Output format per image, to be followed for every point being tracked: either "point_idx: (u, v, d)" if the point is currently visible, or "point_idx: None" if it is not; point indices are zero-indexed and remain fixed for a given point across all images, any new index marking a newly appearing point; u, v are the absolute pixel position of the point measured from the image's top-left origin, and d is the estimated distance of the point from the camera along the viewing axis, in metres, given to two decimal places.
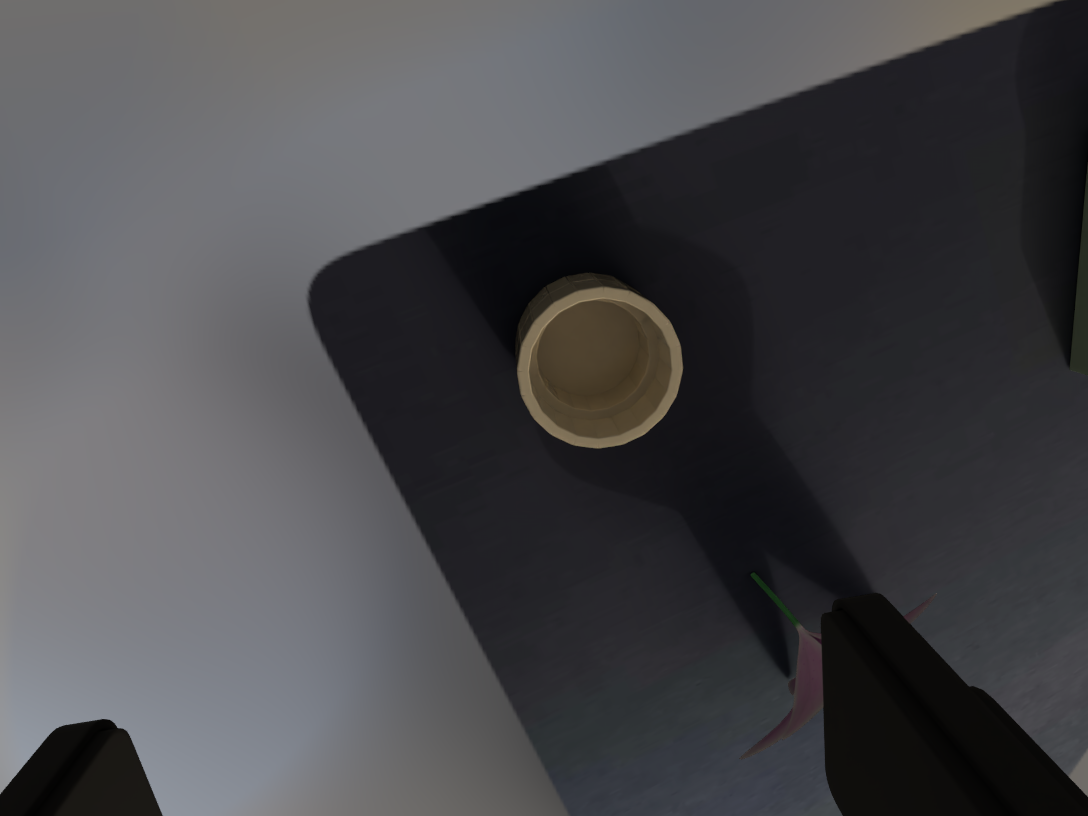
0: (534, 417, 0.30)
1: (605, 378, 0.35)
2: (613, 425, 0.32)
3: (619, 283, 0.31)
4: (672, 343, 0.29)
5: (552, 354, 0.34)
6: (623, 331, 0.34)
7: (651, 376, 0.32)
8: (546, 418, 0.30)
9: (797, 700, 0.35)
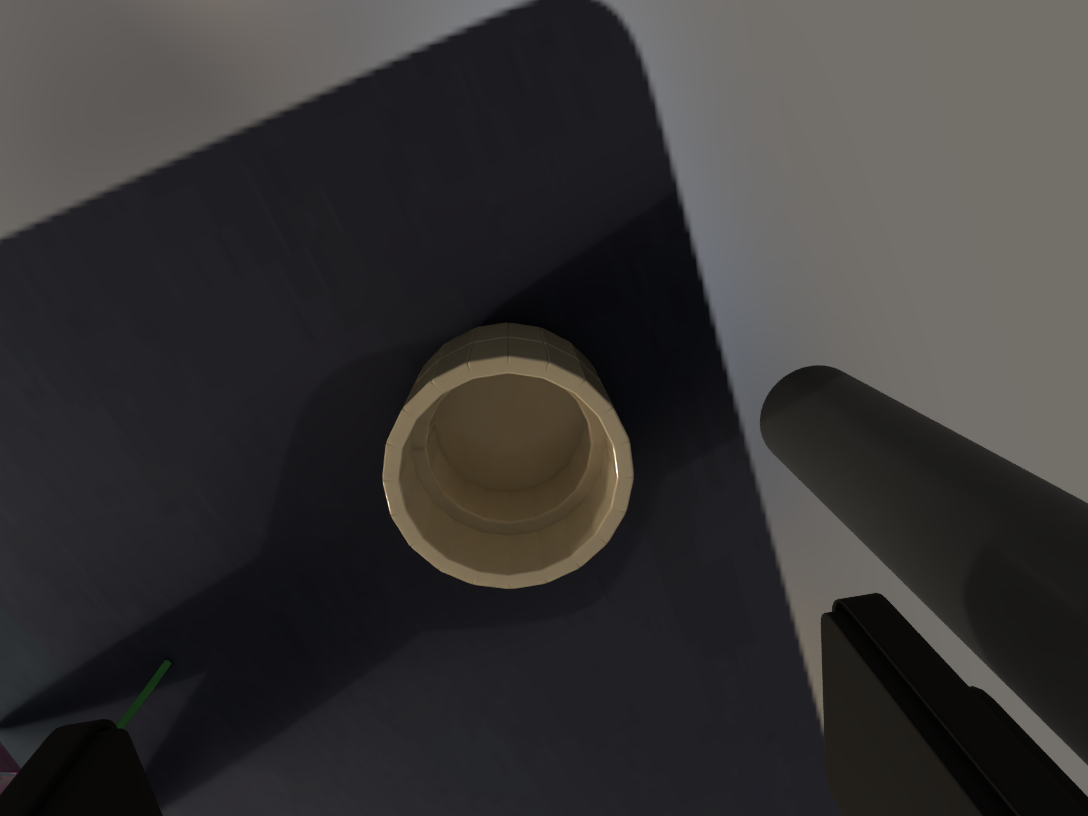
0: (431, 383, 0.19)
1: (460, 449, 0.25)
2: (412, 489, 0.21)
3: None
4: (549, 572, 0.21)
5: (495, 375, 0.24)
6: (528, 469, 0.25)
7: (480, 526, 0.23)
8: (430, 401, 0.19)
9: None
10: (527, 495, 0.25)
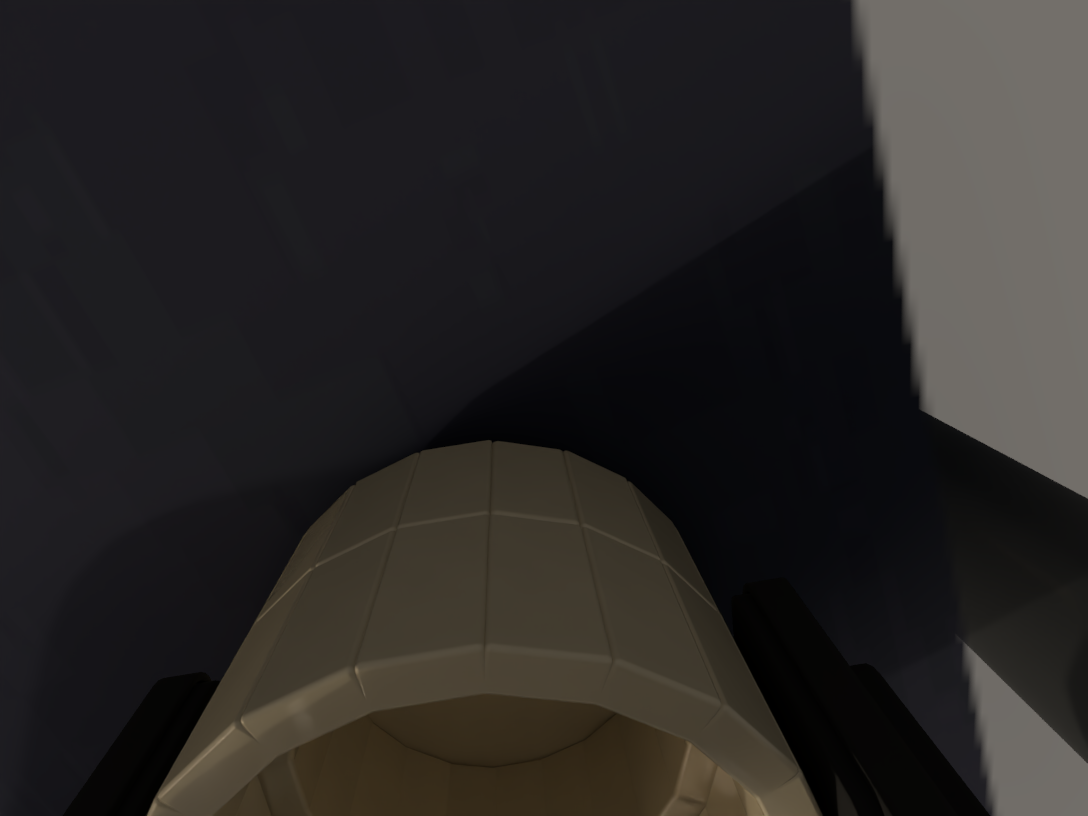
0: (239, 729, 0.06)
1: None
2: None
3: None
4: None
5: None
6: (534, 725, 0.12)
7: None
8: (241, 777, 0.06)
9: None
10: (533, 788, 0.12)
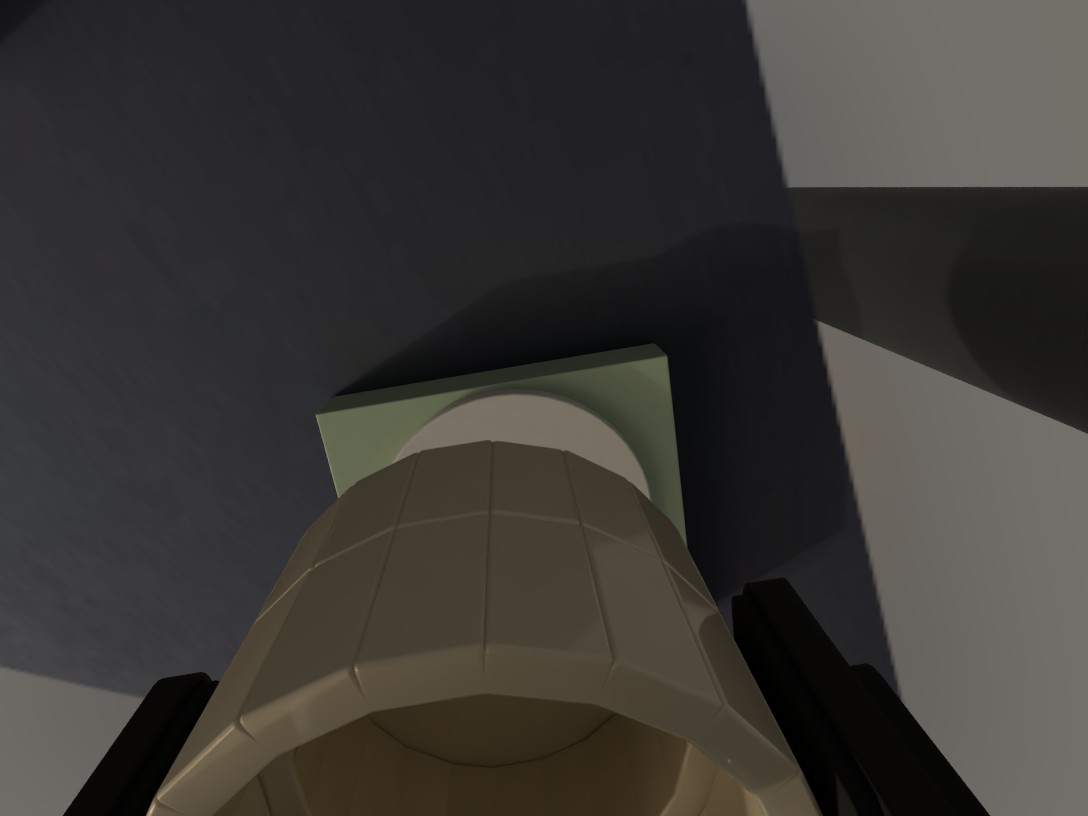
0: (238, 729, 0.06)
1: None
2: None
3: None
4: None
5: None
6: (534, 726, 0.12)
7: None
8: (240, 778, 0.06)
9: None
10: (533, 788, 0.12)
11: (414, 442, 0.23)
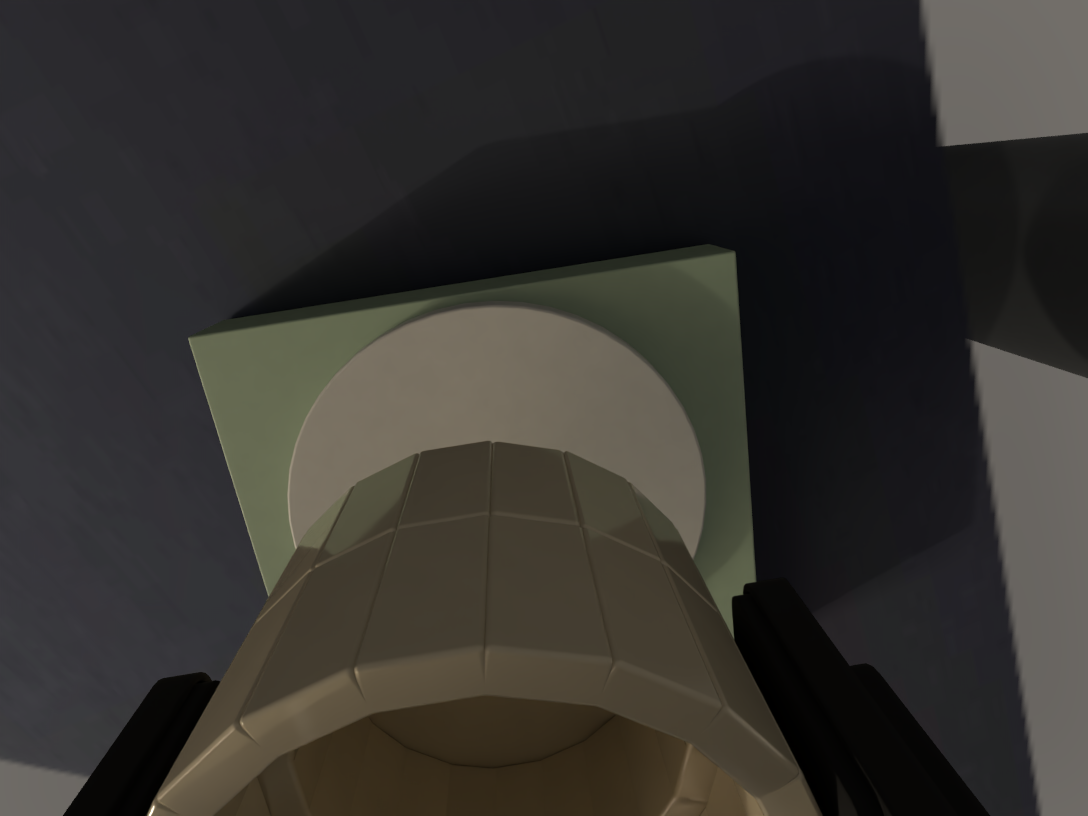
0: (238, 731, 0.06)
1: None
2: None
3: None
4: None
5: None
6: (534, 726, 0.12)
7: None
8: (240, 779, 0.06)
9: None
10: (533, 789, 0.12)
11: (339, 381, 0.15)
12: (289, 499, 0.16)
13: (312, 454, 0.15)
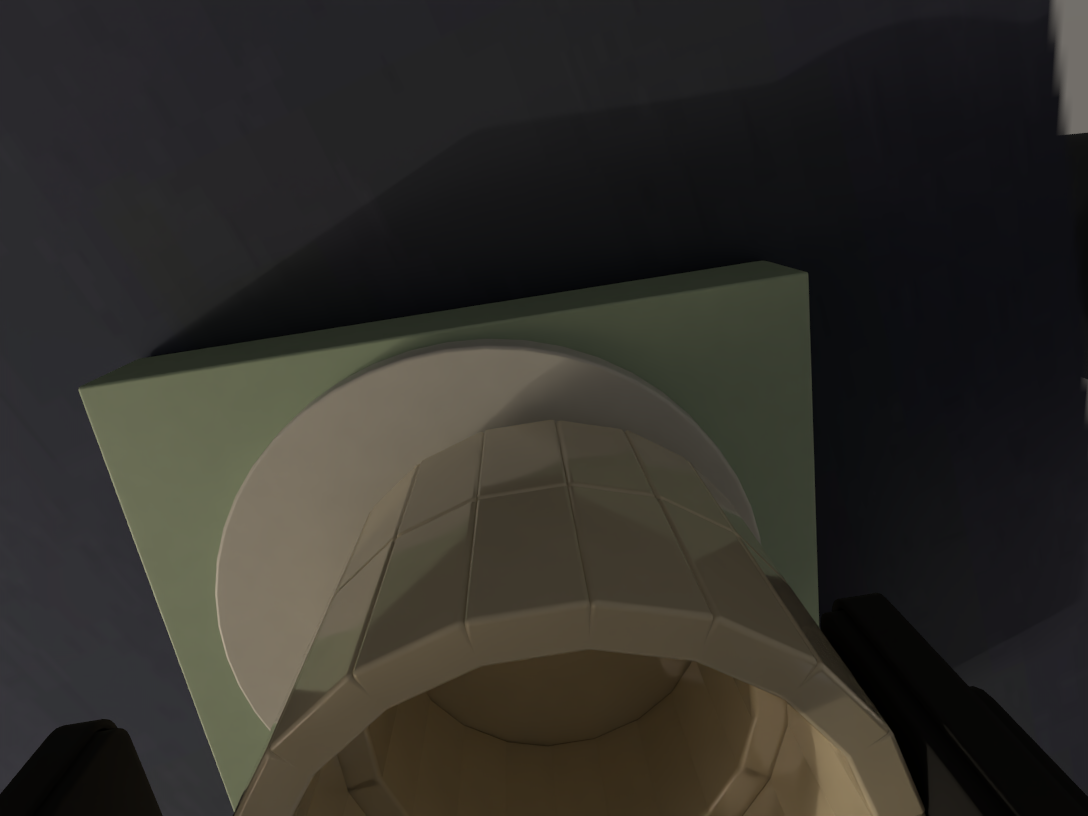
0: (351, 682, 0.06)
1: None
2: None
3: None
4: None
5: None
6: (588, 704, 0.12)
7: None
8: (350, 730, 0.06)
9: None
10: (589, 766, 0.12)
11: (280, 448, 0.11)
12: (217, 599, 0.12)
13: (245, 542, 0.12)
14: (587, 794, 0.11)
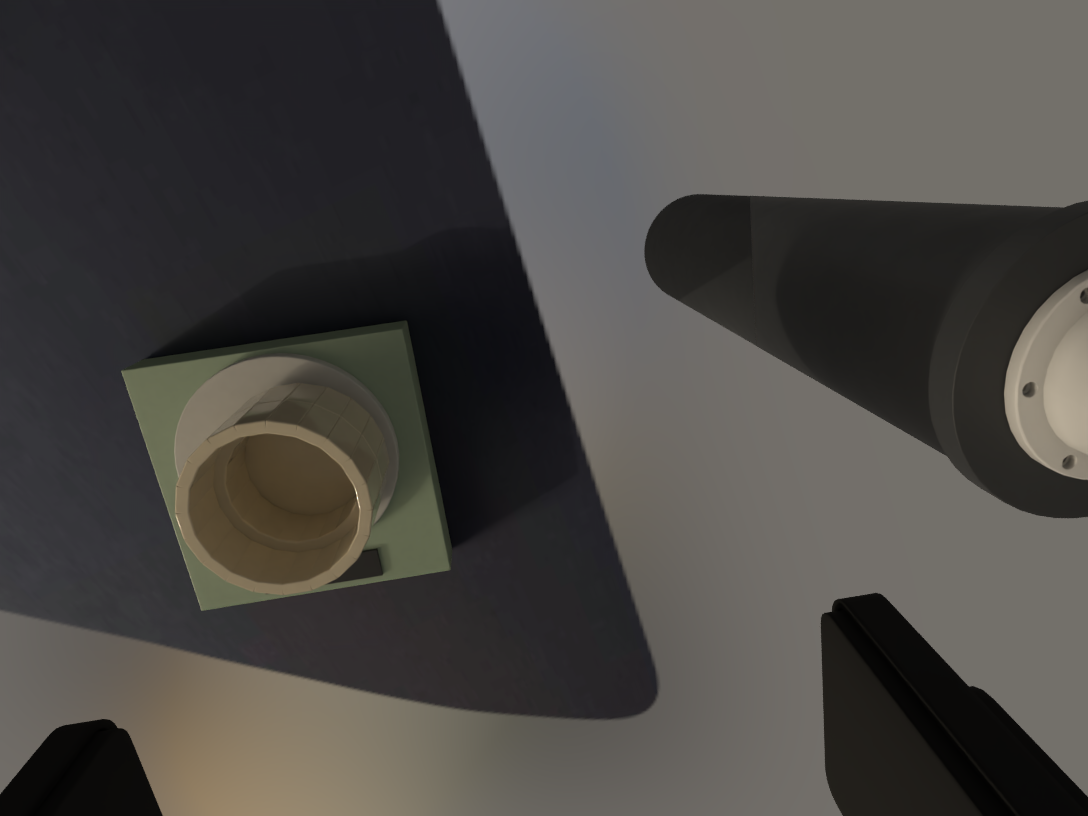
0: (207, 440, 0.25)
1: (268, 482, 0.31)
2: (208, 518, 0.27)
3: (377, 509, 0.28)
4: (313, 582, 0.27)
5: None
6: (325, 497, 0.31)
7: (274, 545, 0.29)
8: (208, 454, 0.25)
9: None
10: (322, 518, 0.31)
11: (198, 393, 0.30)
12: (175, 454, 0.30)
13: (186, 430, 0.30)
14: (317, 525, 0.30)
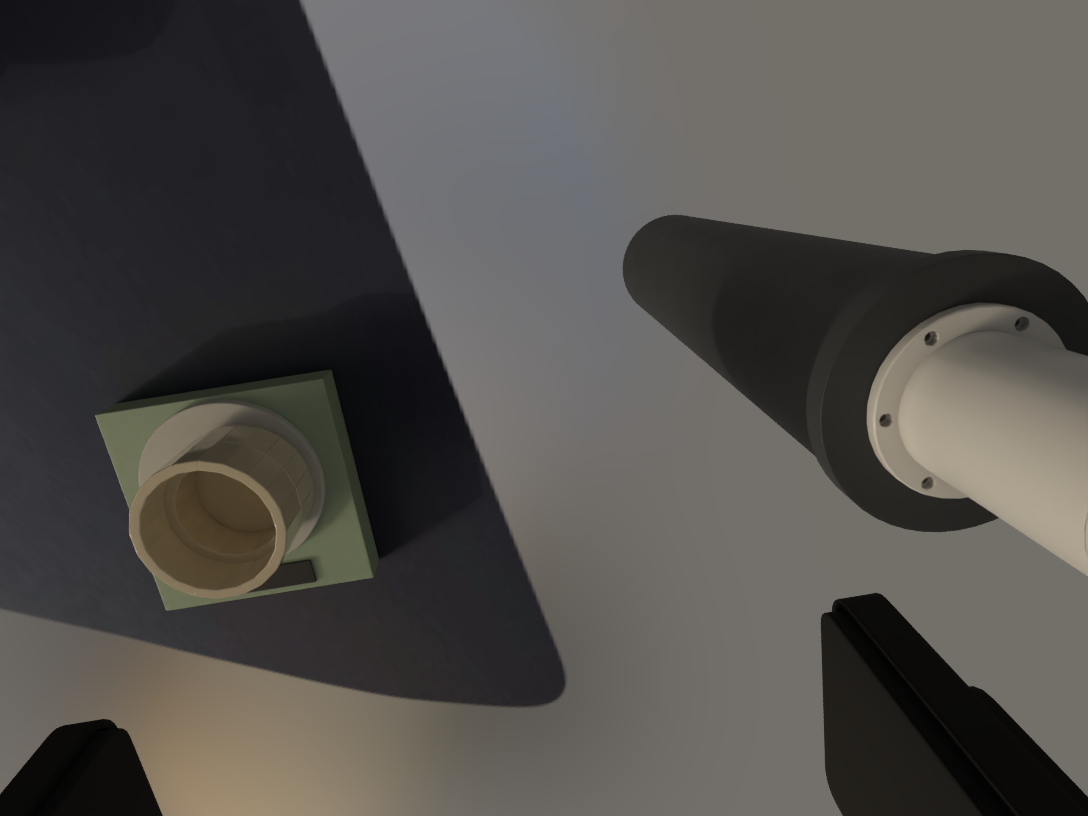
0: (152, 476, 0.31)
1: (215, 505, 0.37)
2: (159, 537, 0.33)
3: (298, 529, 0.35)
4: (242, 588, 0.33)
5: None
6: (262, 518, 0.37)
7: (216, 558, 0.35)
8: (153, 487, 0.31)
9: None
10: (259, 535, 0.37)
11: (156, 433, 0.36)
12: (139, 482, 0.37)
13: (147, 463, 0.37)
14: (254, 540, 0.37)
